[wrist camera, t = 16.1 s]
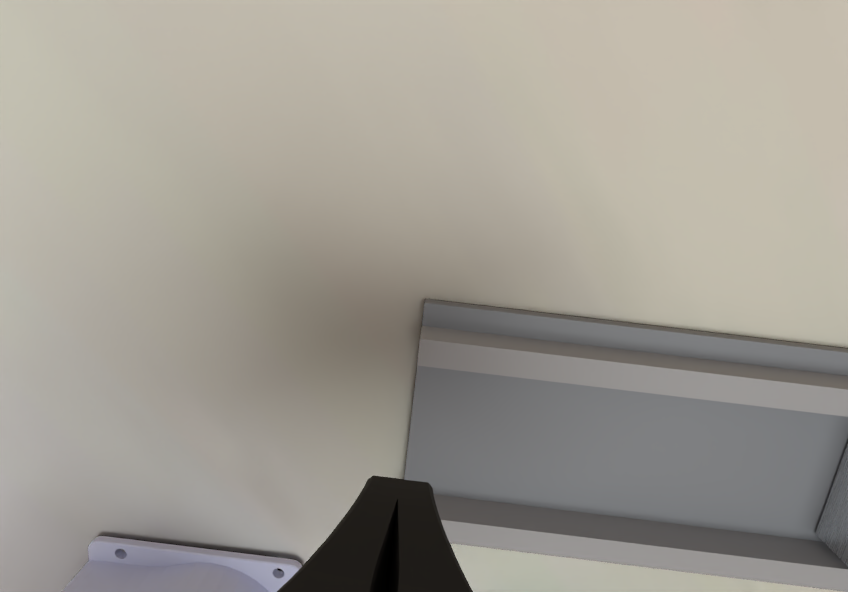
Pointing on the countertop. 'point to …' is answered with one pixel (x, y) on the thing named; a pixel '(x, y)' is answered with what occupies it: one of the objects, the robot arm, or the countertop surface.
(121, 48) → the countertop surface
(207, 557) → the robot arm
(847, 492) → the light grey block
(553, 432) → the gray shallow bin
